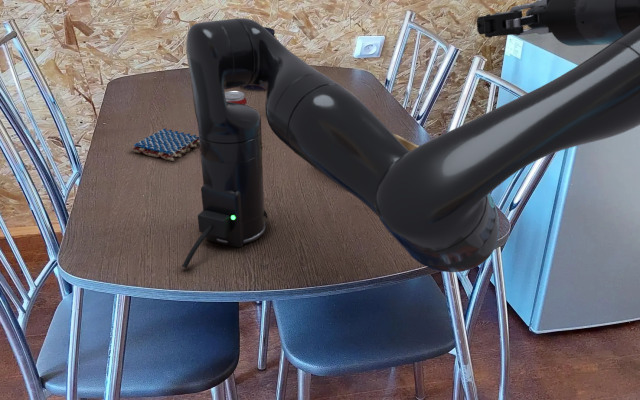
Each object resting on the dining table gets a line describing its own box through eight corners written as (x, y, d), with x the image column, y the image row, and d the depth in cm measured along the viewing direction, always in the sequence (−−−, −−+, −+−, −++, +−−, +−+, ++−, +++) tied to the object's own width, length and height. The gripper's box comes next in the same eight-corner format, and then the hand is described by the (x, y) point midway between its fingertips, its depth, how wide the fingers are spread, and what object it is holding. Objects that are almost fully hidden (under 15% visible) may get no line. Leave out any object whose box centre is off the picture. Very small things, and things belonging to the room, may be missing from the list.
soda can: (244, 154, 117) (241, 99, 112) (220, 152, 118) (216, 97, 112) (252, 145, 122) (249, 91, 116) (229, 142, 123) (225, 89, 117)
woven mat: (131, 153, 118) (129, 144, 117) (163, 135, 126) (162, 127, 125) (171, 163, 114) (170, 153, 113) (202, 144, 122) (201, 135, 121)
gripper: (553, 56, 59) (464, 58, 74) (656, 32, 63) (551, 38, 78) (549, -19, 57) (457, -1, 72) (655, -40, 61) (548, -19, 76)
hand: (506, 19), depth 75 cm, fingers open, 8 cm apart
